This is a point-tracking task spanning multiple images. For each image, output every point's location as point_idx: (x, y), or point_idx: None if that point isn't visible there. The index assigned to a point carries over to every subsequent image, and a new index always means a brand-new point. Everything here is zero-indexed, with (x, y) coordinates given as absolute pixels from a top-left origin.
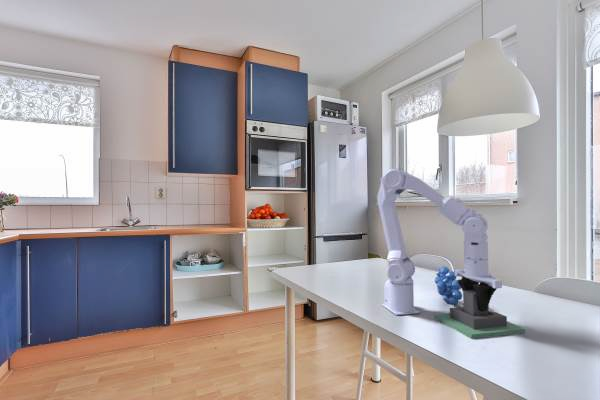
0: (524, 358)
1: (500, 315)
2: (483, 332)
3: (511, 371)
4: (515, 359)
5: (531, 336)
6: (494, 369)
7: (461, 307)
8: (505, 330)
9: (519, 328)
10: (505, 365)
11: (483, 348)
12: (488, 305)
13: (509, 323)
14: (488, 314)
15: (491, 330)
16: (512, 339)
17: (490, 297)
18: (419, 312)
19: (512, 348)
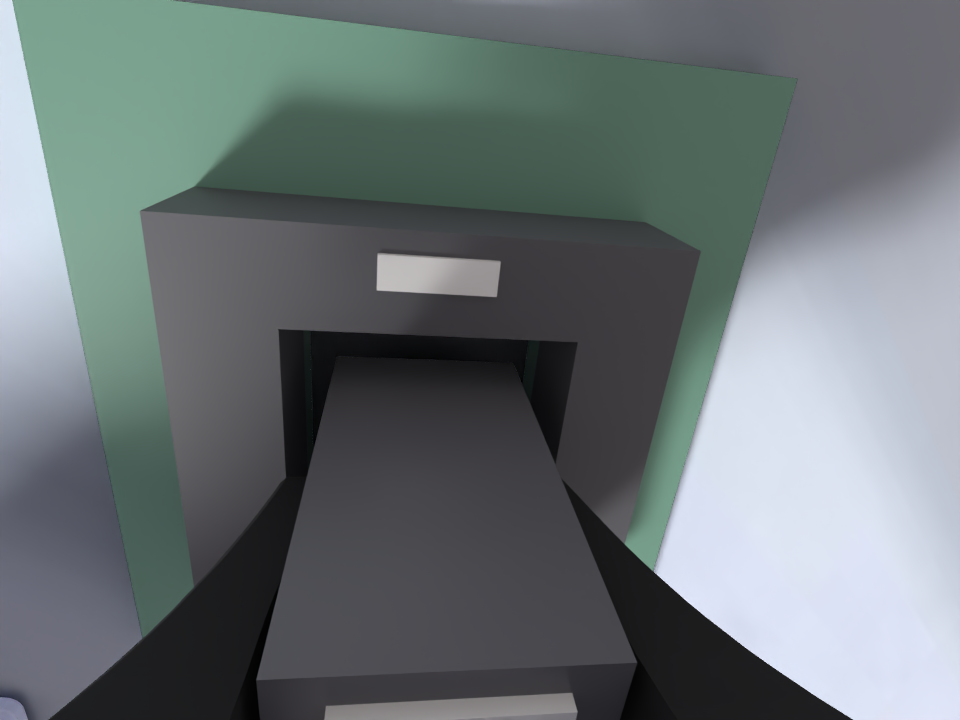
0: (947, 524)
1: (639, 303)
2: (647, 552)
3: (948, 668)
4: (918, 575)
5: (843, 111)
6: (892, 714)
7: (206, 544)
8: (708, 344)
9: (754, 139)
10: (909, 656)
11: (746, 636)
12: (555, 468)
13: (604, 101)
14: (525, 397)
15: (649, 466)
16: (775, 360)
17: (710, 639)
18: (17, 709)
19: (848, 486)
